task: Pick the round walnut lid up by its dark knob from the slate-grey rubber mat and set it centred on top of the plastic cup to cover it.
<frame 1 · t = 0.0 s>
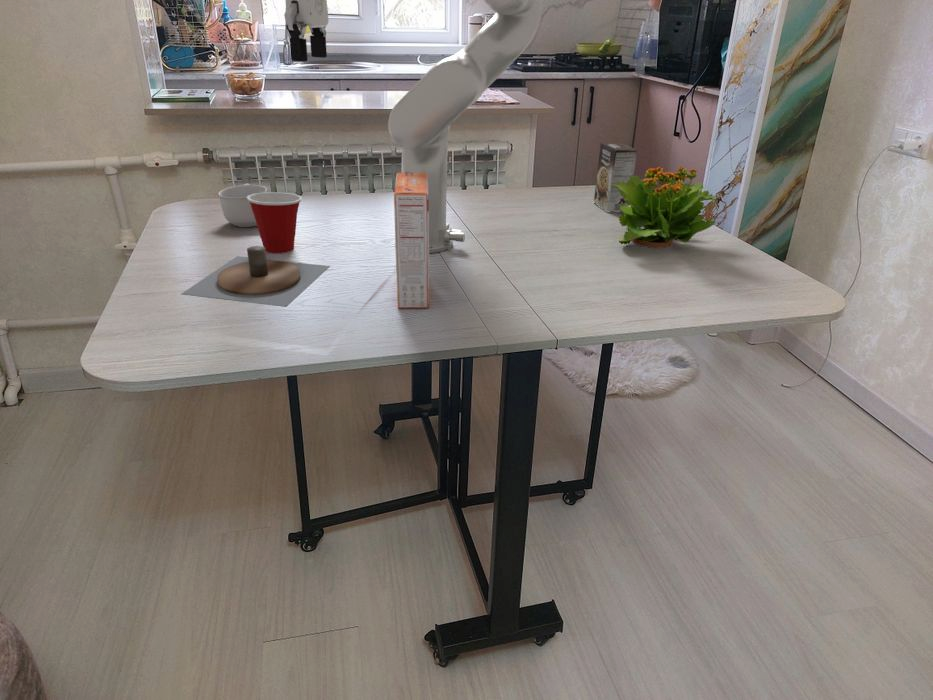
hand: (309, 59, 136), 37 cm above the table, tool pointing down, fingers open, 9 cm apart
mat: (260, 283, 127), on the table
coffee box: (610, 208, 180), on the table
plastic cup: (280, 252, 142), on the table
cracker box: (412, 294, 125), on the table
teacup: (249, 222, 160), on the table
potted flower: (651, 241, 157), on the table
lid: (259, 279, 127), point 1 cm above the table, touching mat
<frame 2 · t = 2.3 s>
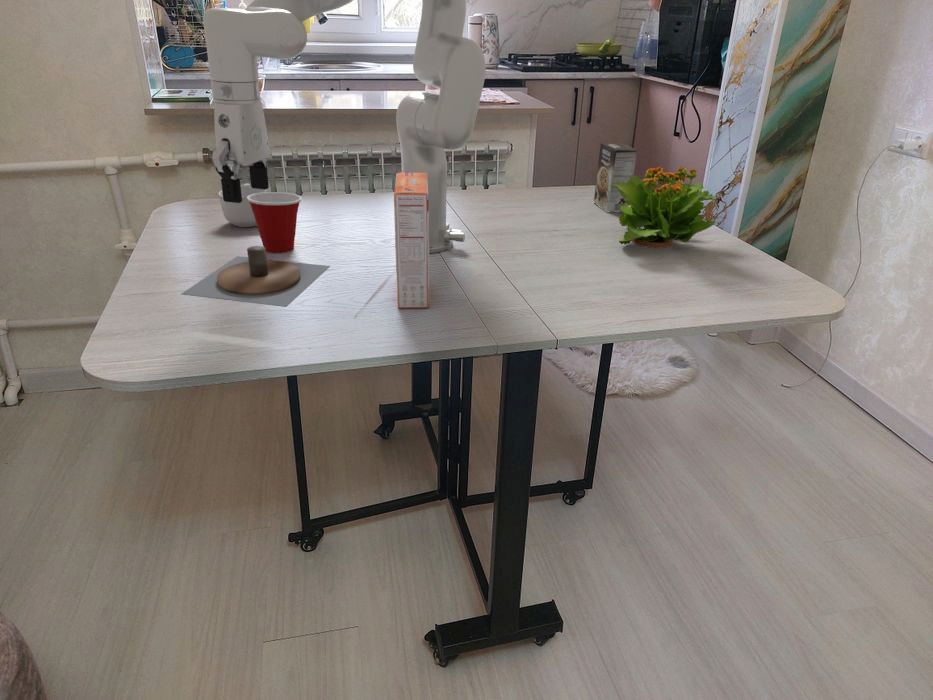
hand: (247, 195, 119), 17 cm above the table, tool pointing down, fingers open, 9 cm apart
nothing on the table moved.
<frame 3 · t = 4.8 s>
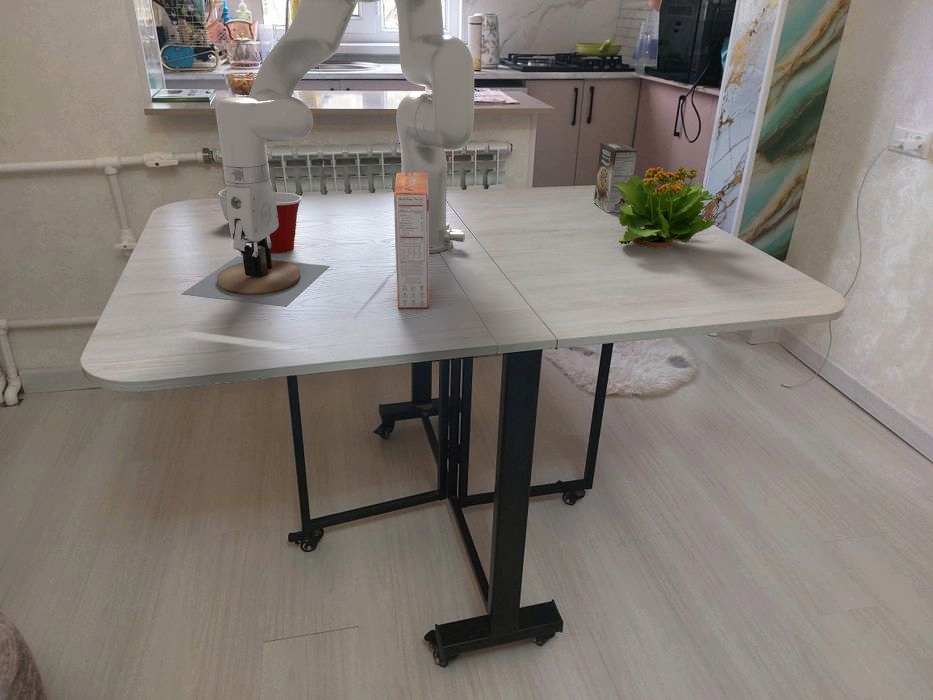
hand: (258, 271, 126), 2 cm above the table, tool pointing down, fingers closed on lid, 3 cm apart
lid: (259, 279, 127), point 1 cm above the table, touching gripper, mat
everything else where it was.
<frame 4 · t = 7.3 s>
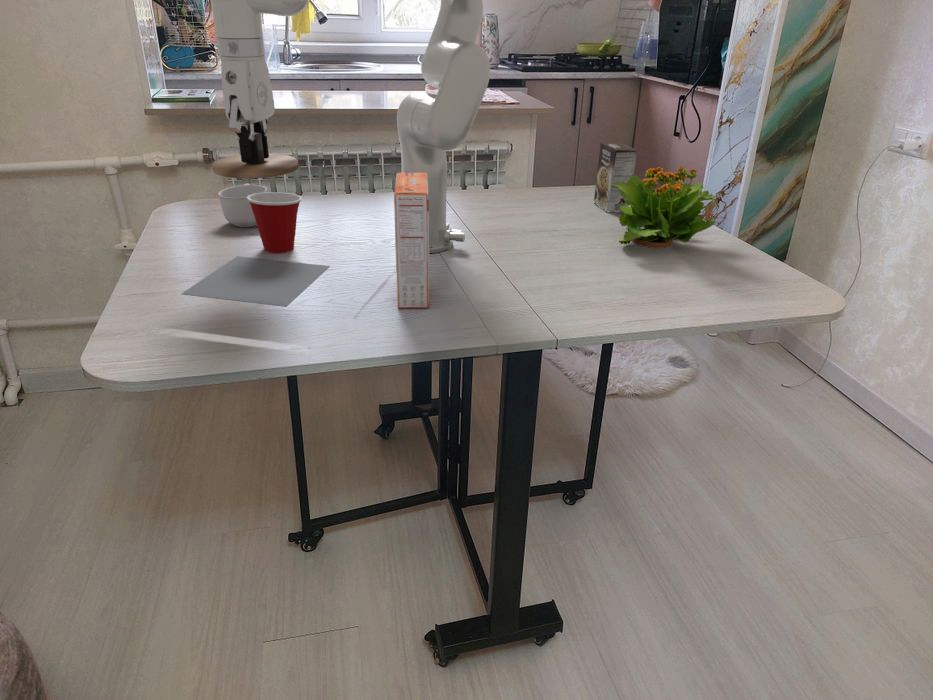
hand: (255, 159, 122), 22 cm above the table, tool pointing down, fingers closed on lid, 3 cm apart
lid: (256, 167, 123), point 20 cm above the table, touching gripper
everything else where it was.
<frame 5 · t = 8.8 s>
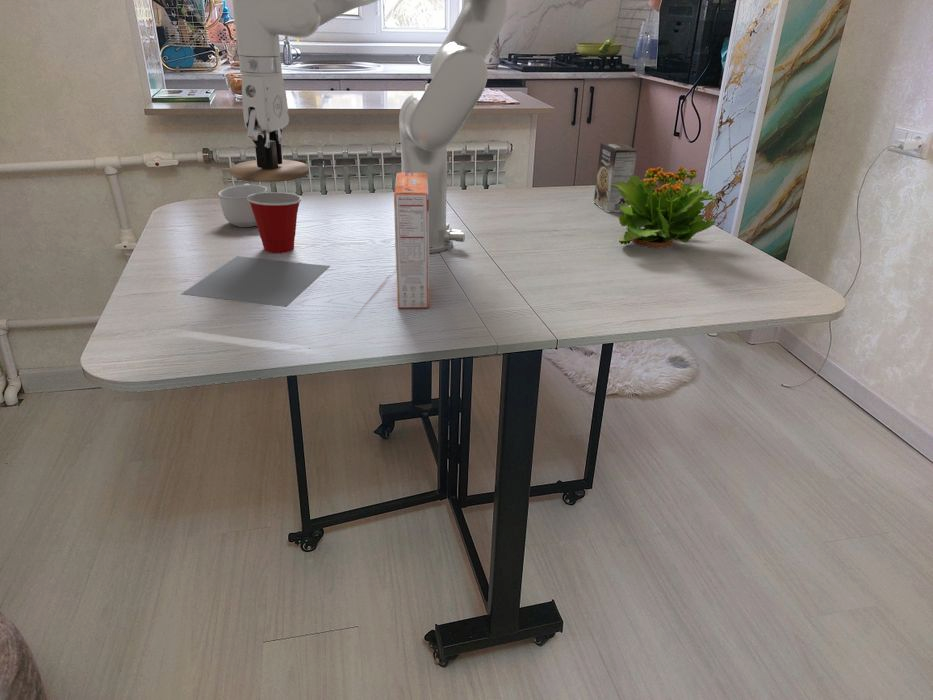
hand: (270, 164, 134), 18 cm above the table, tool pointing down, fingers closed on lid, 3 cm apart
lid: (270, 172, 135), point 17 cm above the table, touching gripper
everything else where it was.
when the fingers open (15 cm above the table, at t = 10.0 s): lid drops 2 cm, resting on plastic cup.
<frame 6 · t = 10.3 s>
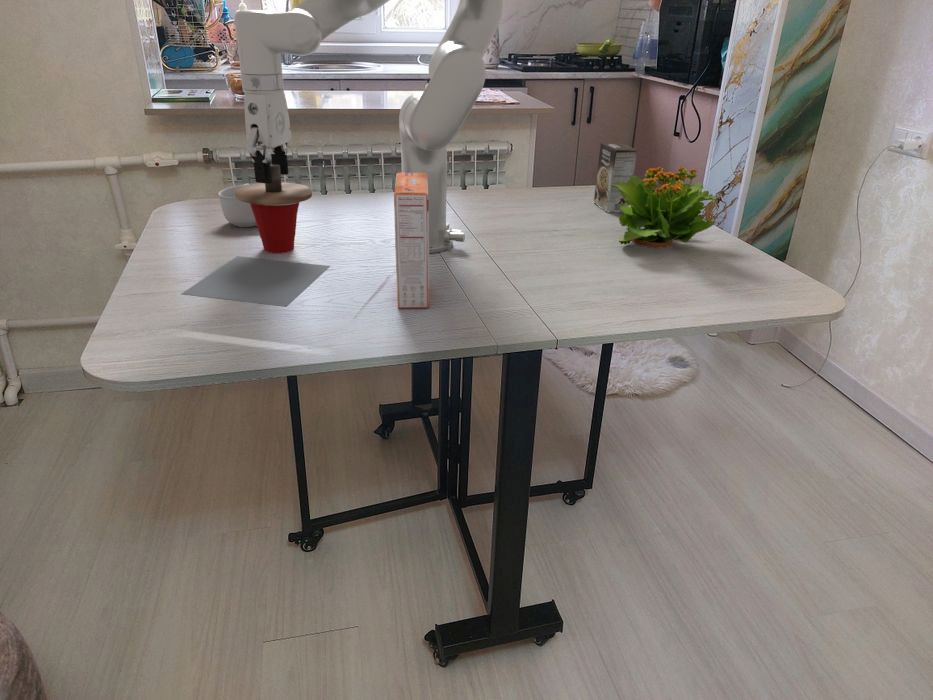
hand: (272, 177, 135), 16 cm above the table, tool pointing down, fingers open, 6 cm apart
plastic cup: (280, 252, 142), on the table, touching lid
lid: (274, 195, 137), point 12 cm above the table, touching plastic cup
everything else where it was.
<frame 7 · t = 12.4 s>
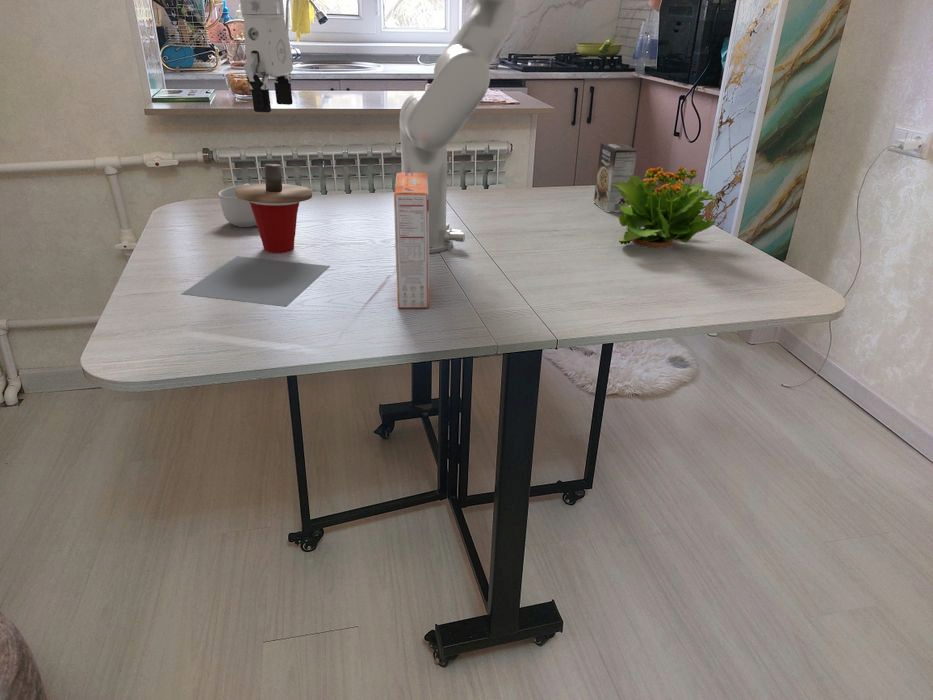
hand: (274, 107, 130), 29 cm above the table, tool pointing down, fingers open, 9 cm apart
nothing on the table moved.
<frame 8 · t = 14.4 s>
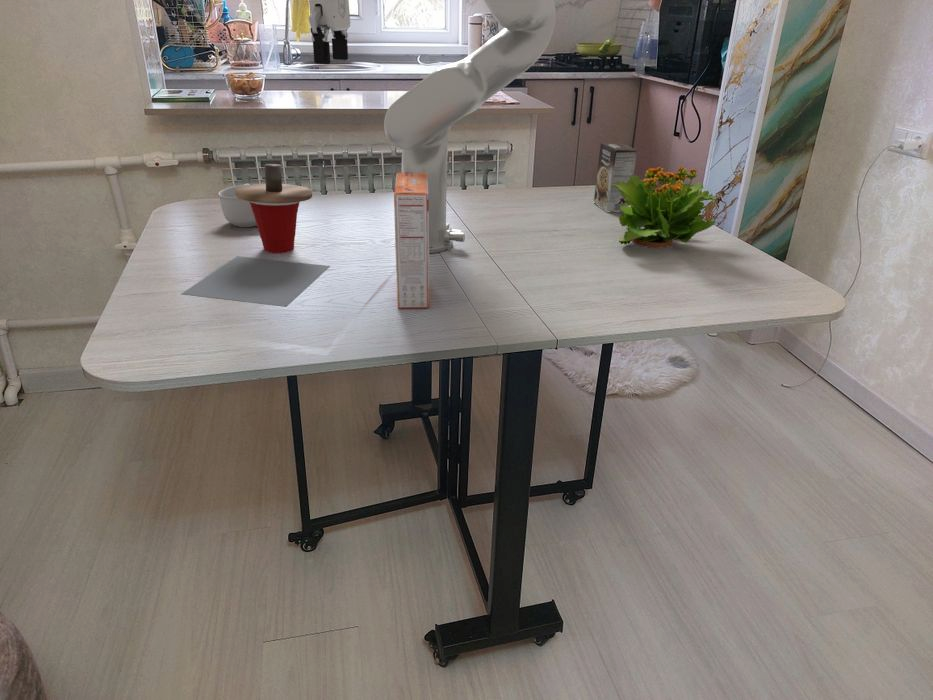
hand: (331, 61, 137), 36 cm above the table, tool pointing down, fingers open, 9 cm apart
nothing on the table moved.
at the end: lid 0.1 cm from the plastic cup (horizontally); lid point 12.0 cm above the table; lid tilted 5° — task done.
